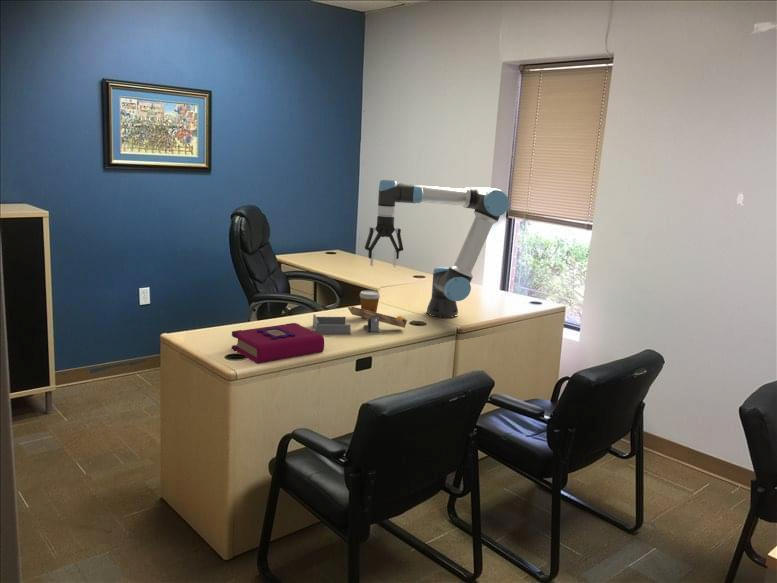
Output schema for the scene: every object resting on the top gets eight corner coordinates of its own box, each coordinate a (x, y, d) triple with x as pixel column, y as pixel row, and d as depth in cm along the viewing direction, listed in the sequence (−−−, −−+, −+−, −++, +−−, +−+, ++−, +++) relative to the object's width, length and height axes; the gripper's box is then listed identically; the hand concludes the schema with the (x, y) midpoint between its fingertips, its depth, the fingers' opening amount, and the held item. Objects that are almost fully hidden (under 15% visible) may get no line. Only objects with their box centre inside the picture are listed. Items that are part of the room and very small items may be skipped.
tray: (345, 325, 282) (345, 314, 281) (350, 334, 270) (350, 322, 268) (312, 325, 279) (313, 314, 278) (316, 334, 266) (316, 322, 265)
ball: (401, 322, 282) (403, 315, 282) (403, 324, 279) (405, 317, 279) (394, 321, 282) (396, 314, 281) (396, 323, 278) (398, 316, 278)
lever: (398, 321, 289) (401, 314, 289) (404, 327, 279) (407, 320, 278) (347, 308, 283) (350, 300, 282) (352, 314, 272) (354, 306, 272)
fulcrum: (376, 326, 284) (377, 311, 283) (382, 333, 274) (383, 318, 273) (363, 326, 283) (364, 311, 282) (368, 333, 273) (369, 318, 271)
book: (324, 353, 244) (325, 334, 242) (257, 365, 226) (258, 344, 224) (294, 339, 259) (294, 321, 258) (230, 349, 241) (230, 330, 240)
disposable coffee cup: (379, 316, 302) (381, 291, 300) (377, 321, 293) (379, 295, 290) (359, 314, 303) (361, 289, 300) (356, 319, 294) (358, 293, 291)
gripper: (408, 215, 289) (405, 264, 294) (359, 213, 284) (356, 263, 289) (412, 217, 282) (409, 267, 287) (362, 215, 277) (359, 266, 282)
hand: (382, 265), depth 288 cm, fingers open, 10 cm apart
